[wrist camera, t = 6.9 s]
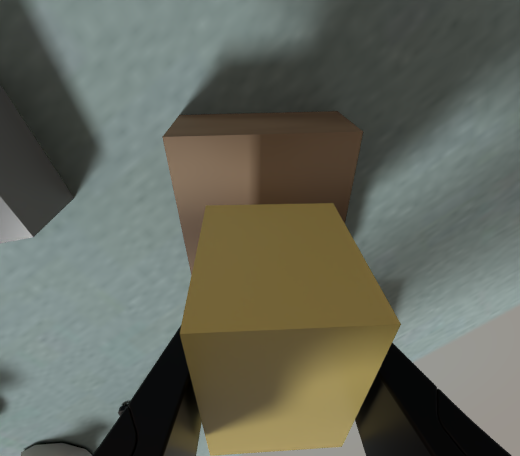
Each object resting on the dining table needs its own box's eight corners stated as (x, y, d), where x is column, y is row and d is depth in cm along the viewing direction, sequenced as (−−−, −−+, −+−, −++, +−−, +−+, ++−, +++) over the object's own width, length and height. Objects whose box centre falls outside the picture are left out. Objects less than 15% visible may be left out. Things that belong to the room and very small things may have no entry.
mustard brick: (311, 322, 12) (341, 446, 8) (219, 326, 12) (210, 455, 8) (333, 203, 9) (401, 324, 5) (205, 205, 9) (180, 334, 5)
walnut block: (314, 258, 18) (329, 301, 15) (205, 263, 18) (198, 308, 15) (335, 109, 13) (363, 131, 10) (180, 113, 12) (162, 136, 9)
